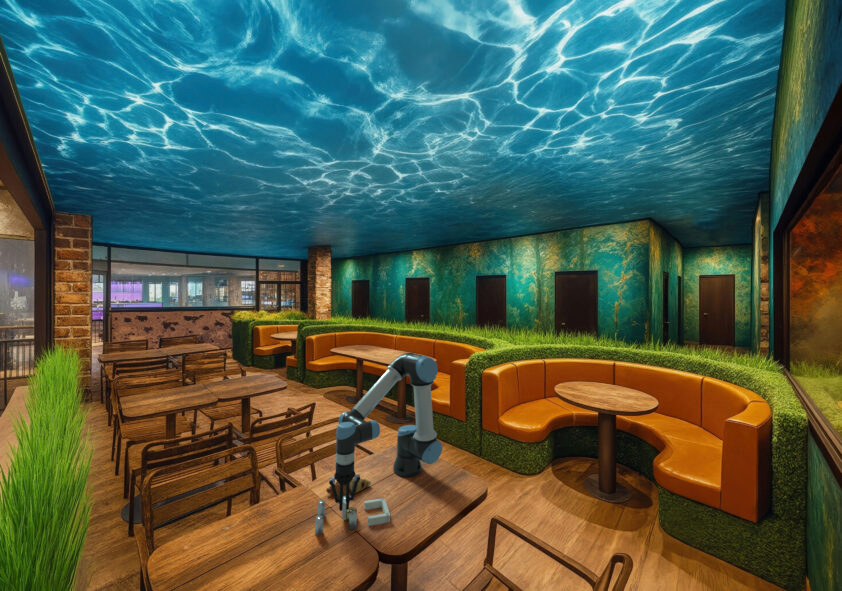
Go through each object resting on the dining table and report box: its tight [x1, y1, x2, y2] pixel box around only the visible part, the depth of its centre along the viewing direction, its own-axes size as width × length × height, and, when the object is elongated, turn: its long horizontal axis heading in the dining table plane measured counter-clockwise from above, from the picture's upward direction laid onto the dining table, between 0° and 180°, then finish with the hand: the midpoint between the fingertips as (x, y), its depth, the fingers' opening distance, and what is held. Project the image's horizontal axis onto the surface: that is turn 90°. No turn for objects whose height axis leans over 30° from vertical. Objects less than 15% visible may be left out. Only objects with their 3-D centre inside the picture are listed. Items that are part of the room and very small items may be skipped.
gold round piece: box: [344, 506, 358, 524], centre depth 145 cm, size 5×5×4 cm
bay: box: [363, 497, 391, 527], centre depth 148 cm, size 12×9×3 cm
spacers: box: [314, 496, 358, 537], centre depth 143 cm, size 14×16×6 cm
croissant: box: [326, 477, 372, 497], centre depth 165 cm, size 21×10×8 cm, turn 115°
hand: (343, 517), depth 144 cm, fingers closed
